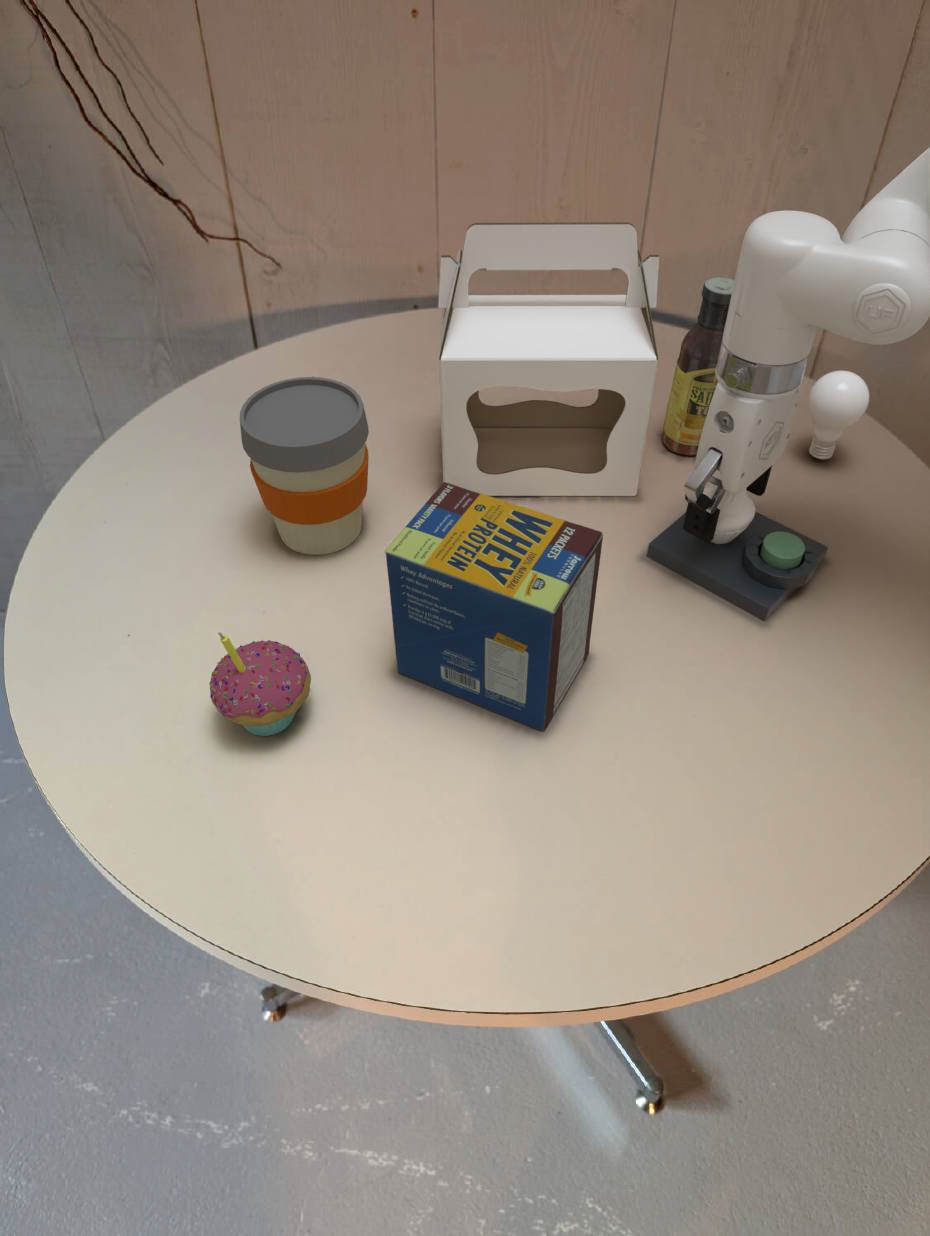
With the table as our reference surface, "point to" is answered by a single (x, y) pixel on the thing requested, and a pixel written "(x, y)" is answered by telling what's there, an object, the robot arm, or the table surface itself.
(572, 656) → the protein box
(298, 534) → the reusable coffee cup
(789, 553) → the button
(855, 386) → the lightbulb
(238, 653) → the cupcake
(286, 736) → the table surface
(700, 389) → the sauce bottle
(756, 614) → the scale
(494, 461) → the gable box
